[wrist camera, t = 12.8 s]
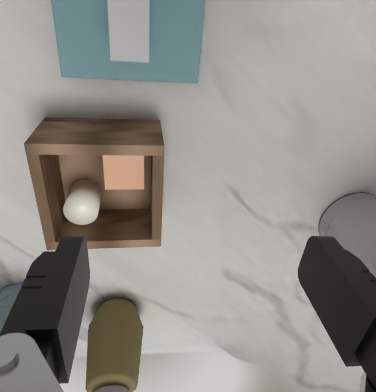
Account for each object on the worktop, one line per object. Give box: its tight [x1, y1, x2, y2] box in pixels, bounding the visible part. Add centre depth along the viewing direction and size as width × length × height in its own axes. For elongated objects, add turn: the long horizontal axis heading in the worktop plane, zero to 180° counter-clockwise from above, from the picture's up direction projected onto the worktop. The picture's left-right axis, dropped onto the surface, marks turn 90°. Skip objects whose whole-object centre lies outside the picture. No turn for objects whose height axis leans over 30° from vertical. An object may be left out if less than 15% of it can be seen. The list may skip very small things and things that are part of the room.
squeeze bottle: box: [86, 298, 143, 392], centre depth 42 cm, size 8×8×18 cm
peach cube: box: [102, 155, 144, 190], centre depth 33 cm, size 4×4×4 cm
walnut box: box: [24, 118, 164, 250], centre depth 34 cm, size 12×12×7 cm
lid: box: [52, 0, 205, 83], centre depth 26 cm, size 13×13×7 cm
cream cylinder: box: [63, 179, 102, 225], centre depth 35 cm, size 4×4×4 cm
